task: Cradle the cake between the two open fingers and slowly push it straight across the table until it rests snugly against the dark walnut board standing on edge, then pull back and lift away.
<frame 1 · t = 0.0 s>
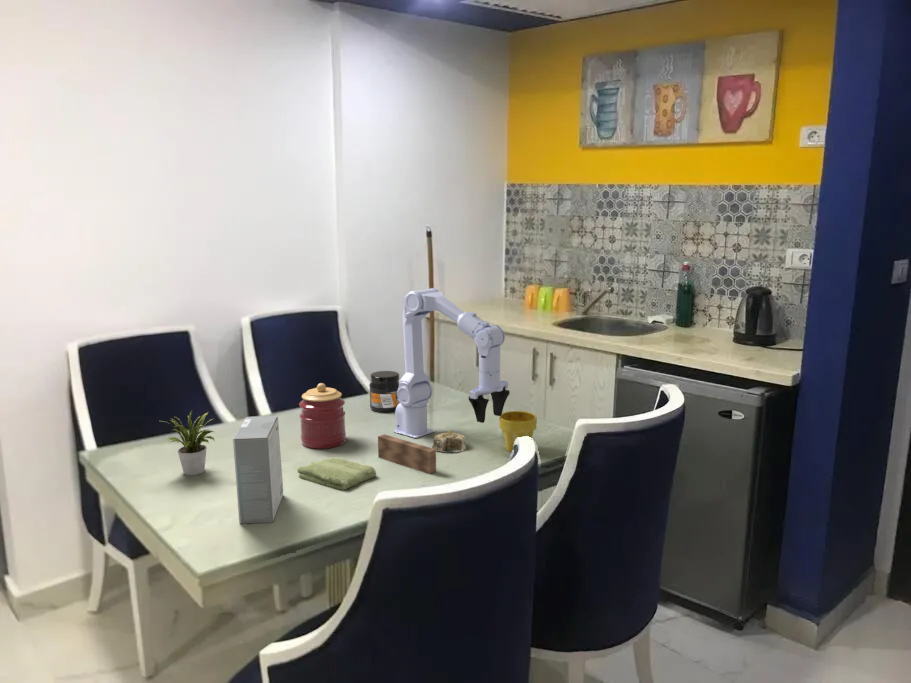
hand: (489, 418, 201), 10 cm above the table, tool pointing down, fingers open, 7 cm apart
cake: (449, 448, 209), on the table
house plant: (189, 473, 190), on the table
plant pot: (517, 449, 207), on the table
supplement container: (385, 409, 246), on the table
washcloth: (336, 478, 188), on the table
canister: (323, 442, 213), on the table
walnut board: (406, 464, 196), on the table
hard drive box: (262, 509, 168), on the table
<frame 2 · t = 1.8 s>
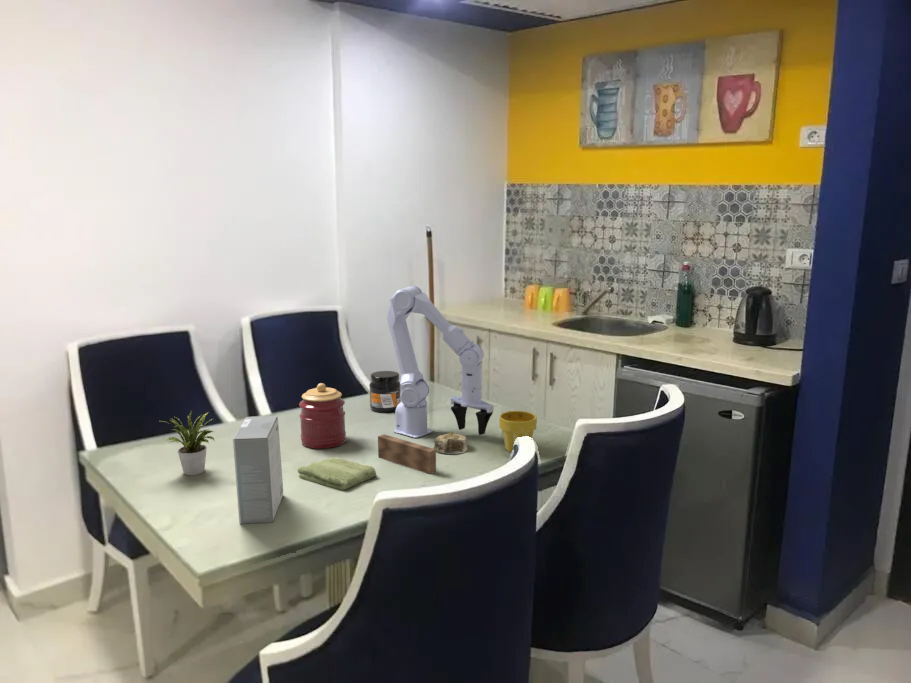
hand: (471, 431, 216), 2 cm above the table, tool pointing down, fingers open, 7 cm apart
cake: (451, 450, 207), on the table
everything else where it was.
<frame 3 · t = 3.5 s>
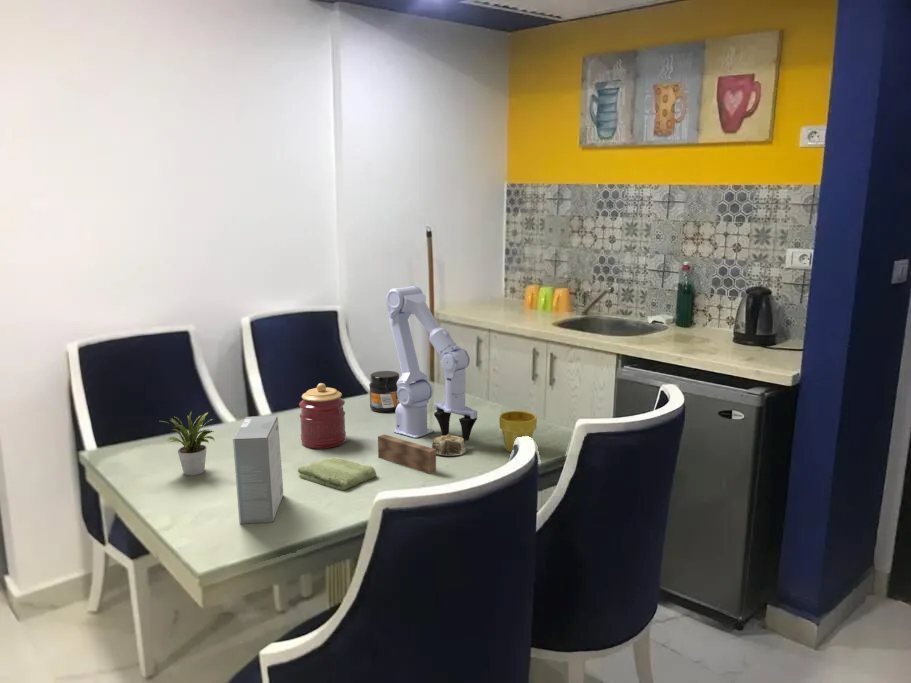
hand: (455, 437, 210), 2 cm above the table, tool pointing down, fingers open, 7 cm apart
cake: (448, 452, 205), on the table, touching gripper
everything else where it was.
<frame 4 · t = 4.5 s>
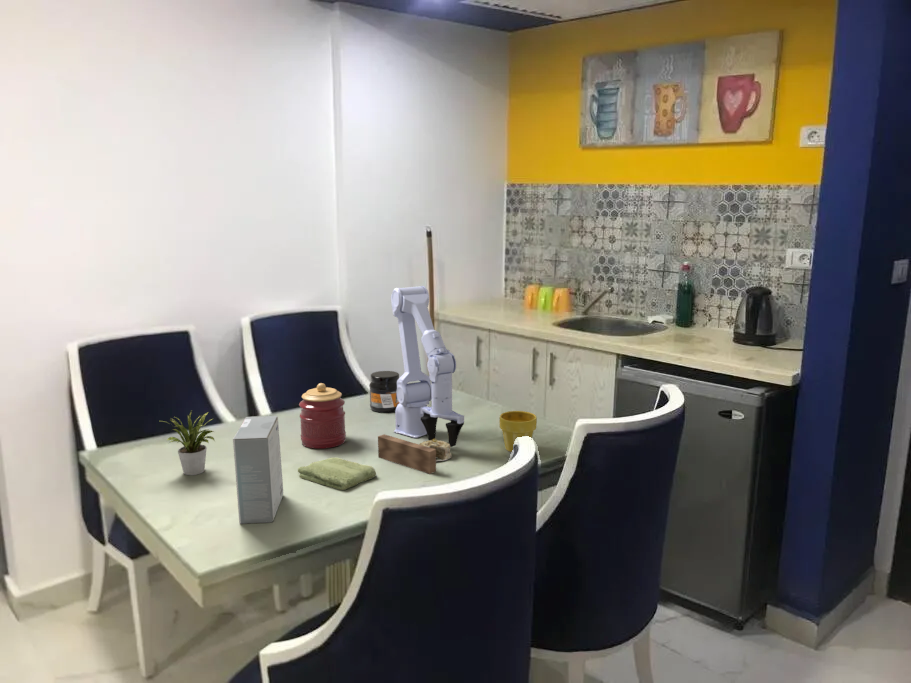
hand: (442, 443, 206), 2 cm above the table, tool pointing down, fingers open, 7 cm apart
cake: (434, 457, 202), on the table
everything else where it was.
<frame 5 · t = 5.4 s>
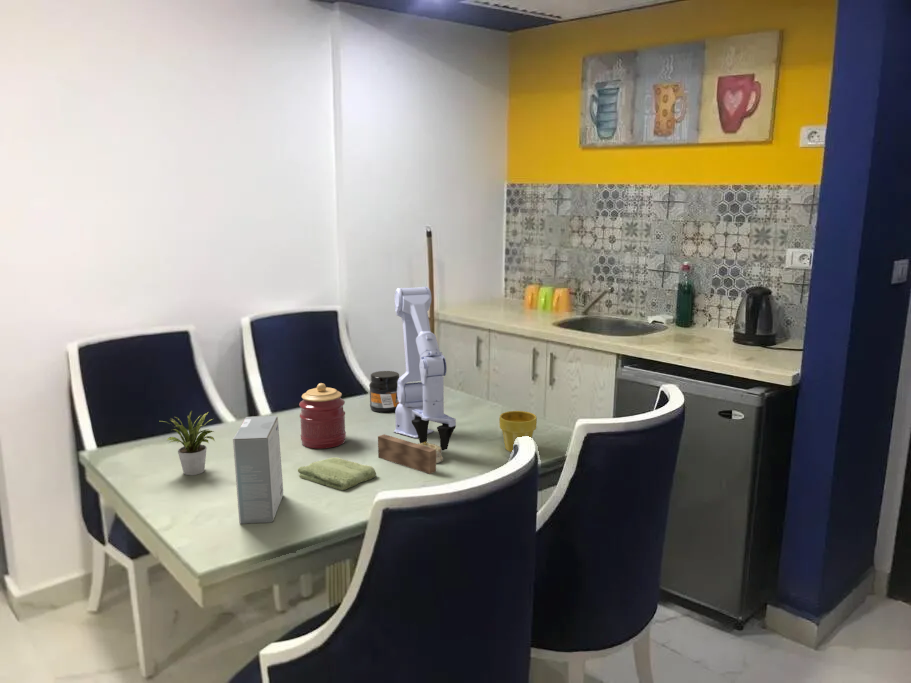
hand: (433, 446, 203), 2 cm above the table, tool pointing down, fingers open, 7 cm apart
cake: (425, 460, 199), on the table, touching gripper, walnut board
everything else where it was.
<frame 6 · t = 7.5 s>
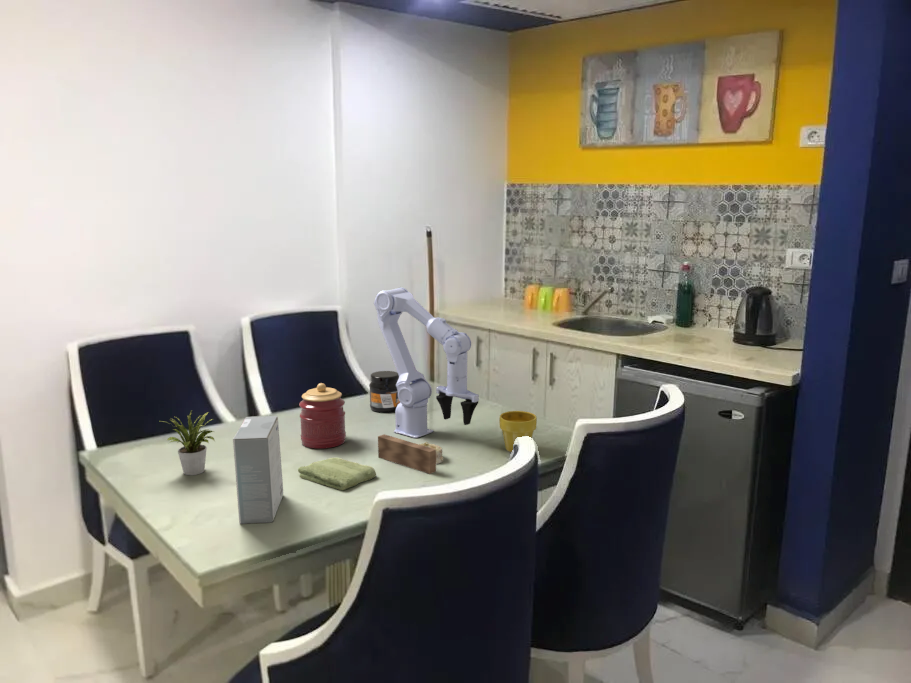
hand: (457, 421, 212), 6 cm above the table, tool pointing down, fingers open, 7 cm apart
cake: (426, 460, 199), on the table
everything else where it was.
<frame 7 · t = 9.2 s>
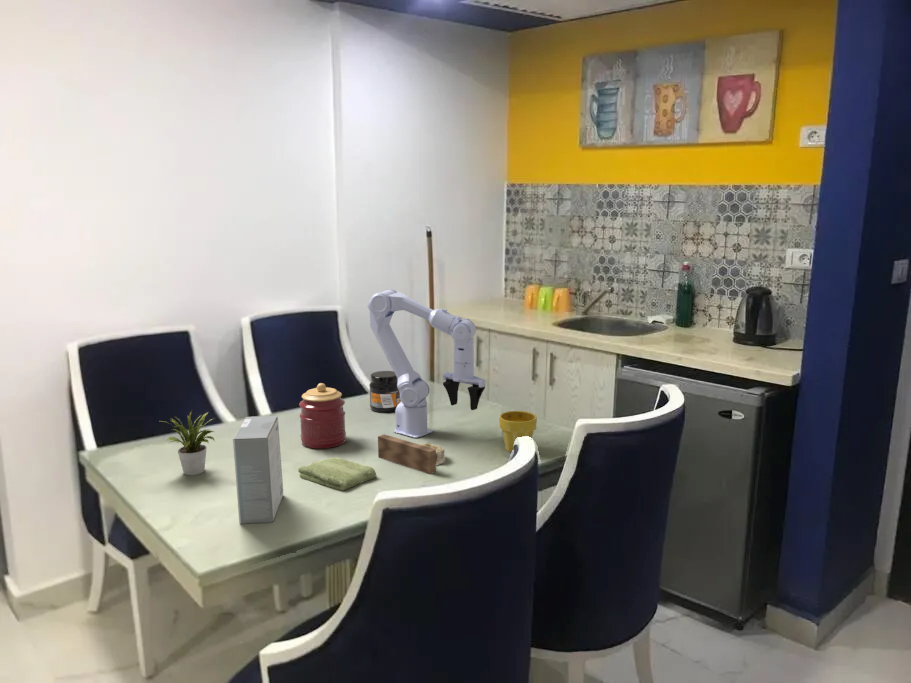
hand: (463, 406, 215), 9 cm above the table, tool pointing down, fingers open, 7 cm apart
nothing on the table moved.
at the end: cake inside the target area on the table beside the walnut board (2.2 cm from its centre), on the table; cake tilted 2° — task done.
